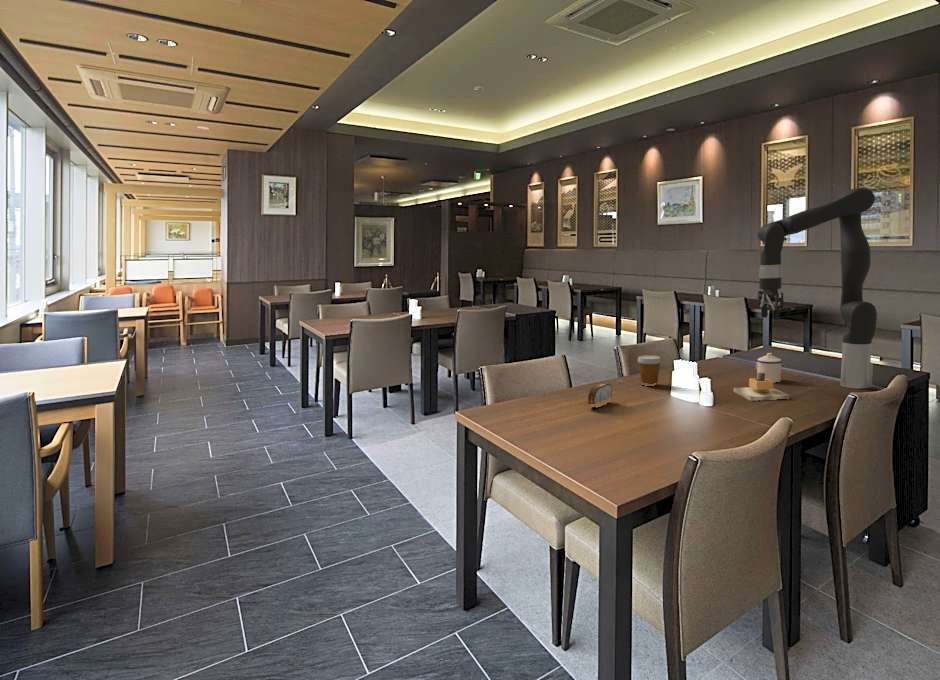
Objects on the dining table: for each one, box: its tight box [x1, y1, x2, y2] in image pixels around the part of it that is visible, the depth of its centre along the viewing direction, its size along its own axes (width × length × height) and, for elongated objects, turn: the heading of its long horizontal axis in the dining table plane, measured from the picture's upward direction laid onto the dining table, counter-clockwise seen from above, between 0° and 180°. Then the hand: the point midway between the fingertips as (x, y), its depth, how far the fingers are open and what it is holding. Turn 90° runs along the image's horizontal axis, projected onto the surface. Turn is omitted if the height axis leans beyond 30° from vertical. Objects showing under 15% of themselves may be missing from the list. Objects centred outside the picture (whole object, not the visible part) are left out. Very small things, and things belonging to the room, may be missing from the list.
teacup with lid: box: [755, 352, 783, 384], centre depth 234 cm, size 12×9×12 cm
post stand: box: [733, 373, 791, 402], centre depth 211 cm, size 14×14×8 cm
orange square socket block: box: [748, 377, 774, 390], centre depth 211 cm, size 6×6×3 cm
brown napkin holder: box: [587, 381, 613, 404], centre depth 207 cm, size 15×3×8 cm, turn 141°
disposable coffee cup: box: [637, 354, 662, 384], centre depth 235 cm, size 10×10×12 cm
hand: (770, 318), depth 218 cm, fingers open, 8 cm apart
